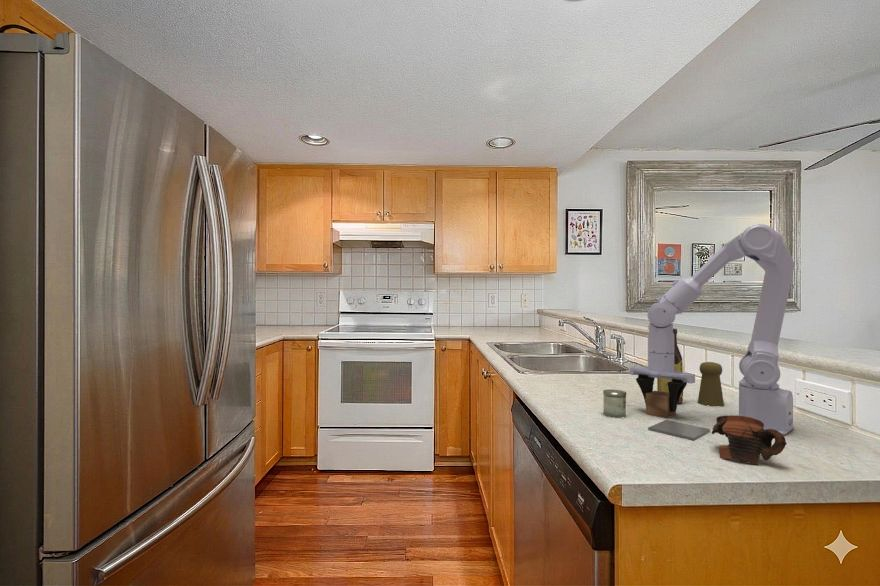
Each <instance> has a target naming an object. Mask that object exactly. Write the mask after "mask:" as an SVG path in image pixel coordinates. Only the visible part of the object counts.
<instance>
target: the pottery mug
mask: <svg viewBox="0 0 880 586" xmlns="http://www.w3.org/2000/svg"><path fill="white" fill-rule="evenodd" d="M714 434H715V435H716V434H719V435H721V436H725V437H726V438H727V441H728V444H725V445H718V448H717V449H718V451H719V452H718V453H719V457H720V459H723V460H725V459H726V460H736V461H739V462H742V463H748V464H751V465H755V466H758V465H759V462H760V461H759V460H760V458H762V459H763V460H765V461H768V460H770V459H771V458H772V457H773V456H777V455H779V454H781V453H782V452H783V451H784V450H785V448H786V445H788V444H787V441H786V437H785V435H783V434H782V433H780V432H779V431H777V430H773V429H764V424H763V423H762V422H761V421H760V420H757V419H754V418H750V417H745V416H739V415H737V414H736V415H733V414H732V415H731V414H730V415H725V414H724V415H720V416H716V423H714V425H713V427H712V431H711V435H714ZM773 439H774V443H772V442H773ZM760 456H761V457H760Z"/></svg>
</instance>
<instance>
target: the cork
mask: <svg viewBox="0 0 880 586" xmlns="http://www.w3.org/2000/svg"><path fill="white" fill-rule="evenodd" d="M699 372H700V374H701V378H700V385H699V391H698V398H697V403H698V404H699V403H700V404H699V405H702V404H703V405H702V406H706V405H709V406H708V407H713V406H722V407H724V406H725V403H724V396H723V395H724V394H723V389H722V382H721V375H722V373H723V366H722V364H720V363H718V362H713V361H705V362H700V364H699ZM723 405H724V406H723Z"/></svg>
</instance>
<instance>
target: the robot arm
mask: <svg viewBox="0 0 880 586" xmlns="http://www.w3.org/2000/svg"><path fill="white" fill-rule="evenodd" d="M744 257H747V258H749V259H751V260H753V261H755V263H756V264H758V266H760V268H761V269H762V270H764V276H763V281H762V286H761V291H760V296H759V300H758V304H757V305H758V306H757V308H756V309H757V311H756V315H755V319H754V323H753V324H754V325H753V330H752V334H751V338H750V341H749V344H748V346H747V350H746V353H745V354H744V355H743V357H742V358H741V359H740V361H739V364H738V368H739V372H740V373H741V375H742V376H743V377H742V378H741V380H739V381H738V416H745V417H750V418H754V419H757V420H760V421H761V422H762V423H763V424H764V429H773V430H777V431H779V432H780V433H782V434H783V435H784V436H785V435H787V434H788V433H789V432H790V431H792V430H793V429H794V428H795V427H794V396H793V395H794V394H793V392H792V391H791V390H790V389H789V390H788V389H783V388H780V384H779V383H778V381H779V380H780V378H781V369H780V366H779V365H778V363H779V362H778V361H779V341H780V338H781V337H780V336H781V332H782V328H783V323H784V317H785V313H786V308H787V303H788V300H789V295H790V289H791V284H792V281H793V280H792V279H793V275H794V271H795V261H794V259H793V258H792V255H791V254H790V251H789V249H788V248H787V246H786V245H785V243H784V239H783V236H782V235H781V234H780V233H779V232H778V231H776V230H775V229H773V228H772V227H771V226H769V225H767V224H764V223H763V224H762V223H759V224H758V223H755V224H752V225H750V226H747V228H745V229H744V230H743V232H741V233H740V234H738V235H737V236H735V237H734V238H731V240H729V241H728V242H727V243H725V244H724V245H722V246H721V247H720V248H719V249H718V250H717V251H716V252H715V253H714V254H713V255H711V257H710V258H709V259H708V260H706V262H705V263H704V264H703V265H702V266H701V267H700V268H699V269H698V270H697V271H696V272H695V273H694V274H693V275H692V276H691V277H686V278H685V277H684V278H683V277H681V278H680V279H679V280H674V281H673V282H672V283H671V286H672V287H670V288H669V290H667V291H666V292H665V293H664V294H663V295H662V296H660V295H659V296H658V297H657V298H656V300H657V301H658V302H656V303H653V304H651V306H650V307H649V308H648V311H647V320H648V322H649V323H648V332H647V367H643V366H634V365H633V366H630V367H629V375H631V376H637V377H636V378H635V381H636V383H637V384H638V386H639V388H640V391H641V393H642V396H643V399H644V403H645V405H646V393H649V392H652V391H654V384H655V379H657V378H660V379H667V380H672V381H671V382H668V389H669V397H670V401H669V408H670V411H671V412H674V411H676V412H677V409H678V408H677V407H678V404H679V403H678V401H679V398H680V396H681V394H682V392H683V393H684V390H685V388H686V387H687V384H695V383H696V374H695V373H694V374H693V373H689V372H688V373H687V372H678V371H674V333H673V328H674V322H675V320H676V315H679V314H680V315H681V314H683V312H684V311H686V310H687V309H688V308H690V306H691V305H692V304H693V303H695V301H697V300H698V299H699V298H700V297H701V296H702V286H704V284H706V283H707V282H709V280H711V279H712V278H713V277H714V276H715V275H716V274H717V273H718V272H719V271H721V270H722V269H723V268H724V267H726V266H727V265H728V263H729V264H730V263H731V262H734V261H737V260H741V259H742V258H744ZM664 376H668V377H664Z"/></svg>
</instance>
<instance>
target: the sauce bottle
mask: <svg viewBox="0 0 880 586" xmlns="http://www.w3.org/2000/svg"><path fill="white" fill-rule="evenodd" d="M673 333H674V371H678V372H683V371H684V369H683V356H682V354H681V350H680V349H679V346H678V340H677V334H678V329H677V328H674V327H673ZM664 377H668V376H664ZM656 381H657V382H656V384H657V385H656V386H657V389H656V391H660V392H666V393H669V389H668V382H671V381H672V380H667V379H660V378H656ZM683 397H684V391H683V392H682V394H681V396H680V398H679V401H678V404H681V403H682V402H684V401H683V400H684V398H683Z"/></svg>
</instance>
